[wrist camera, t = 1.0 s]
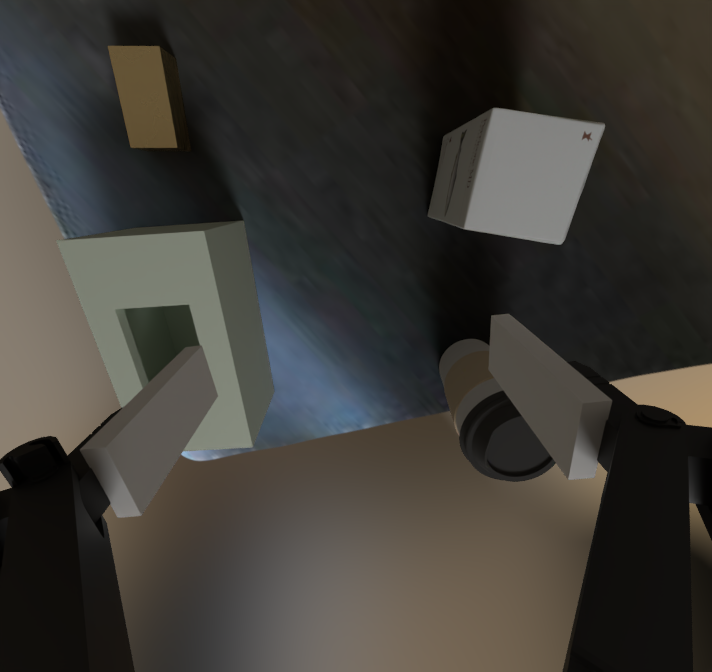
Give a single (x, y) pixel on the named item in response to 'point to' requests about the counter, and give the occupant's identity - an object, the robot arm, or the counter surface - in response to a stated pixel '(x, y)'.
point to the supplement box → (514, 174)
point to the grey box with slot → (178, 316)
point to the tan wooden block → (150, 98)
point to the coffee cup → (489, 417)
